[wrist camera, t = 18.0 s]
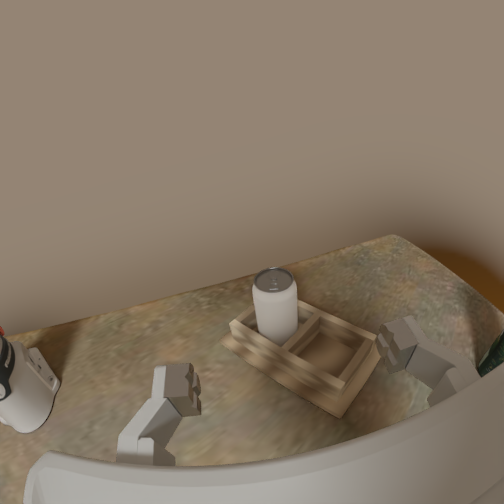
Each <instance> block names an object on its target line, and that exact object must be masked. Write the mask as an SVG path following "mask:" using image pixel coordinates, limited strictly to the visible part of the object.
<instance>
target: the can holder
mask: <svg viewBox="0 0 504 504" xmlns="http://www.w3.org/2000/svg"><path fill="white" fill-rule="evenodd" d="M297 309H298V331H297V332H296V333H295V334H294V335H293V336H292V337H291V338H290V339H289V340H288V341H287V342H286V343H285V344H284V345H283V346H282V347H280V346H278V345H276V344H275V343H273V342H271V341H270V340H268V339H266V338H265V337H263V336H261V335H260V334H259V331H258V325H257V319H256V313H255V306H254V304H252V305H251V306H250V307H249V308H247V309H246V310H245V311H244V312H243V313H241V314H240V315H239V316H238V317H236V318H235V319H234V320H233V321H232V322H230V323H229V325H230V328H231V331H229V332H228V333H227V334H226V335H224V336H223V337H222V338H221V339H220V343H221V344H222V345H224V346H225V347H227V348H228V349H229V350H231V351H232V352H234V353H235V354H236V355H238V356H239V357H241V358H242V359H244V360H245V361H247V362H248V363H249V364H251V365H252V366H254V367H255V368H257V369H258V370H260V371H261V372H263V373H264V374H266V375H267V376H269V377H271V378H272V379H274V380H275V381H277V382H278V383H280V384H281V385H283V386H285V387H286V388H288V389H289V390H291V391H293V392H294V393H296V394H298V395H299V396H301V397H303V398H304V399H306V400H308V401H309V402H311V403H313V404H314V405H316V406H318V407H320V408H321V409H323V410H325V411H327V412H328V413H330V414H332V415H334V416H336V417H337V418H339V419H341V417H342V416H343V415H344V413H345V412H346V411H347V409H348V408H349V406H350V405H351V404H352V402H353V401H354V399H355V398H356V396H357V395H358V393H359V392H360V390H361V389H362V387H363V386H364V384H365V383H366V381H367V380H368V378H369V377H370V375H371V373H372V372H373V370H374V368H375V367H376V365H377V364H378V362H379V360H380V359H381V356H380V355H379V353H378V350H377V347H376V344H374V343H375V340H376V337H377V335H375V334H373V333H371V332H368V331H366V330H364V329H362V328H359V327H357V326H355V325H353V324H350V323H348V322H346V321H344V320H342V319H339V318H337V317H335V316H333V315H331V314H328V313H326V312H324V311H322V310H320V309H317V308H315V307H313V306H311V305H309V304H307V303H304V302H302V301H300V300H298V299H297Z"/></svg>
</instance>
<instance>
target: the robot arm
mask: <svg viewBox="0 0 504 504" xmlns="http://www.w3.org/2000/svg"><path fill="white" fill-rule="evenodd" d="M379 330H380V332H381V333H380V334H379V335H378V336H377V340H376V347H377V350H378V353H379V355H380V356H381V357H383V358H385V360H384V364H385V366H386V368H387V370H388V372H389V374H392V373H395V372H398V371H401V370H403V369H405V370H406V371H408V372H409V373H410V374H412V375H413V376H414V377H416V378H417V379H419V380H420V381H421V382H423V383H424V384H426V385H427V386H428V387H430V388H431V389H433V391H432V392H431V394H430V395H429V396H428V398H427V401H428V403H429V405H430V408H428V409H426V410H424V411H422V412H420V413H418V414H415V415H413V416H411V417H409V418H407V419H404V420H402V421H400V422H397V423H395V424H393V425H390V426H388V427H385V428H383V429H380V430H377V431H375V432H372V433H369V434H366V435H363V436H360V437H358V438H354V439H351V440H348V441H345V442H342V443H338V444H335V445H331V446H328V447H324V448H320V449H316V450H312V451H308V452H304V453H299V454H294V455H289V456H284V457H279V458H273V459H267V460H260V461H253V462H245V463H236V464H225V465H209V466H175V457H174V456H173V455H172V454H171V453H169V452H168V451H167V450H165V449H164V448H165V447H166V445H167V443H168V442H169V440H170V438H171V437H172V435H173V433H174V432H175V430H176V428H177V427H178V425H179V423H180V421H181V420H182V417H187V416H198V415H201V401H200V400H199V398H198V396H199V395H200V393H201V387H200V381H199V378H198V375H197V373H195V372H194V367H193V365H192V364H191V363H186V364H173V365H158V366H156V367H155V370H154V378H153V387H152V397H151V399H148V400H147V401H146V402H145V403H144V405H143V406H142V407H141V408H140V410H139V411H138V412H137V413H136V415H135V416H134V417H133V418H132V420H131V421H130V422H129V423H128V425H127V426H126V427H125V428H124V430H123V431H122V432H121V433H120V435H119V438H118V447H117V457H116V462H111V461H104V460H98V459H92V458H86V457H81V456H76V455H72V454H67V453H63V452H59V451H55V450H50V451H48V452H46V453H45V454H44V455H43V456H42V457H41V458H40V459H38V461H37V462H36V463H35V464H34V465H33V466H32V467H31V468H30V470H29V473H28V476H27V480H26V485H25V491H24V499H23V504H504V362H503V363H502V364H500V365H499V366H498V367H496V368H495V369H493V370H492V371H490V372H489V373H488V374H486V375H485V376H483V377H482V378H481V377H480V375H479V374H478V372H477V371H476V369H475V368H474V366H473V364H472V363H471V361H470V360H469V358H467V357H465V356H463V355H461V354H459V353H457V352H455V351H453V350H452V349H450V348H448V347H446V346H444V345H442V344H440V343H438V342H436V341H434V340H432V339H430V340H428V338H427V337H426V335H425V334H424V332H423V331H422V329H421V328H420V326H419V325H418V323H417V322H416V321H415V319H414V318H413V317H412V316H411V315H409V316H406V317H403V318H399V319H396V320H393V321H390V322H387V323H384V324H382V325H381V326H380V329H379ZM3 335H4V331H3V329H2V328H1V326H0V421H1V422H2V423H3V424H5V425H10V426H12V427H13V428H14V429H15V430H17V431H18V432H21V433H29V432H32V431H34V430H36V429H37V428H39V427H40V426H41V425H42V424H43V423H44V422H45V420H46V419H47V417H48V415H49V413H50V411H51V408H52V404H53V399H54V396H55V394H56V392H57V390H58V388H59V386H60V381H59V380H58V378H57V377H56V375H55V374H54V372H53V371H52V369H51V368H50V366H49V365H48V363H47V362H46V360H45V359H44V357H43V355H42V354H41V352H40V351H39V350H38V348H36V347H34V348H30V349H27V348H26V347H25V346H24V345H23V344H22V343H21V342H19V341H15V342H9V341H8V340H7V339H6V338H4V337H3Z"/></svg>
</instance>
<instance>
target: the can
mask: <svg viewBox="0 0 504 504" xmlns="http://www.w3.org/2000/svg"><path fill="white" fill-rule="evenodd" d="M252 293H253V300H254V306H255V313H256V319H257V325H258V331H259V334H260V335H261V336H263V337H265V338H266V339H268V340H270V341H271V342H273V343H275V344H276V345H278V346H280V347H282V346H283V345H284V344H285V343H286V342H287V341H288V340H289V339H290V338H291V337H292V336H293V335H294V334H295V333H296V332H297V331H298V309H297V285H296V282H295V281H294V277H293V275H292V273H291V272H290V271H288V270H287V269H284V268H280V267H272V268H267V269H264V270H262V271H260V272H259V273H258V274H257V275H256V276H255V278H254V284H253V288H252Z"/></svg>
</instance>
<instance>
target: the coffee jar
mask: <svg viewBox="0 0 504 504" xmlns="http://www.w3.org/2000/svg"><path fill="white" fill-rule="evenodd" d="M503 362H504V329H503V331H502V332H501V334H500V335H499V336H498V338H497V339H496V340H495V342H494V343H493V344H492V345H491V347H490V348H489V349H488V351H487V352H486V353H485V355H484V356H483V358H482V359H481V361H480V363H479V367H478V370H479V374H480V376H481V378H482V377H483V376H485V375H486V374H488V373H489V372H490V371H492V370H493V369H495V368H496V367H498V366H499V365H500V364H502V363H503Z"/></svg>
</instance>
